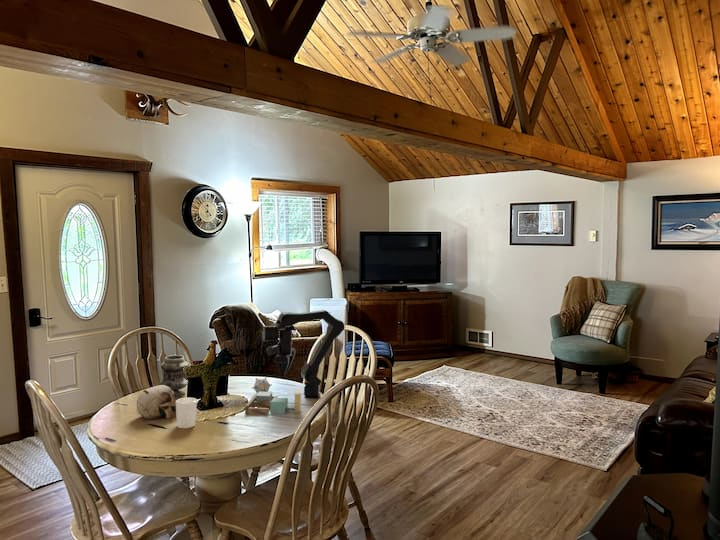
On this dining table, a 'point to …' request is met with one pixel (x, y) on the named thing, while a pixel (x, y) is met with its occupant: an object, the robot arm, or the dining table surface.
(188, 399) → the white cup
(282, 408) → the teal cube mallet
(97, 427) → the dining table surface
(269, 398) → the slate block
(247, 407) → the shelf
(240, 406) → the dining table surface
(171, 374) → the apothecary jar
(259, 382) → the grey spiky lump
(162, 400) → the skull
